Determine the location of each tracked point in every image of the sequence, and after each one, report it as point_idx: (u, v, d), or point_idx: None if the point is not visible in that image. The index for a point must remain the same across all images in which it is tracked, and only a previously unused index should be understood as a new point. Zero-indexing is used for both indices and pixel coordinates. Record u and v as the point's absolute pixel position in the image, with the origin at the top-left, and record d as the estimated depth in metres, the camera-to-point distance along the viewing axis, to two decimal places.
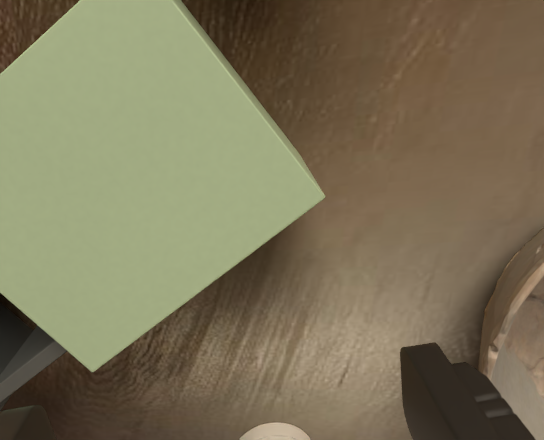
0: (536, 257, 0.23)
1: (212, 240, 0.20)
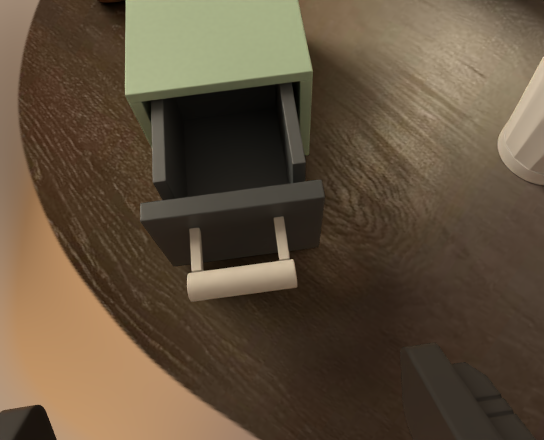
0: None
1: None
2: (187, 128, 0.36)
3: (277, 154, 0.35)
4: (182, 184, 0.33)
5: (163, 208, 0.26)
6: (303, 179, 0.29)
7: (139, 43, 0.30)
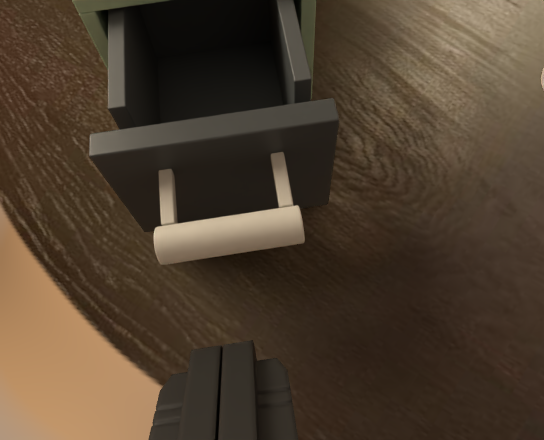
0: None
1: None
2: (162, 67, 0.30)
3: (273, 94, 0.28)
4: None
5: (120, 139, 0.19)
6: None
7: None
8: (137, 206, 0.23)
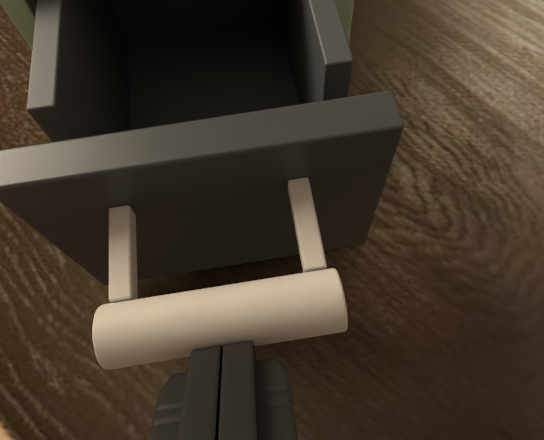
0: None
1: None
2: (134, 54, 0.22)
3: (285, 90, 0.21)
4: None
5: (41, 160, 0.12)
6: None
7: None
8: (86, 255, 0.16)
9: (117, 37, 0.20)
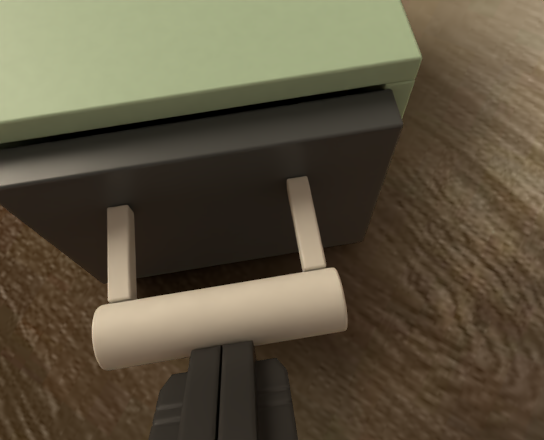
0: None
1: None
2: None
3: None
4: None
5: (38, 160, 0.12)
6: None
7: None
8: (84, 254, 0.16)
9: None
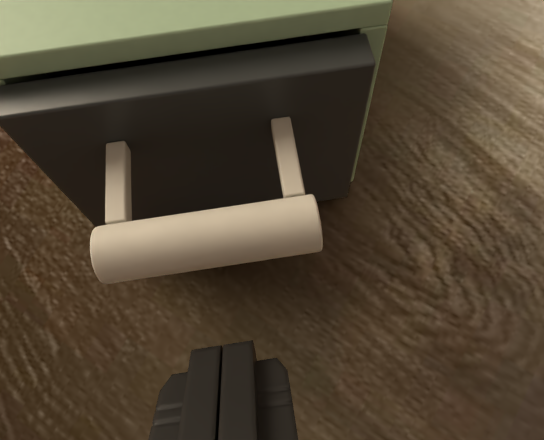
0: None
1: None
2: None
3: None
4: None
5: (43, 93, 0.13)
6: None
7: None
8: (85, 197, 0.17)
9: None
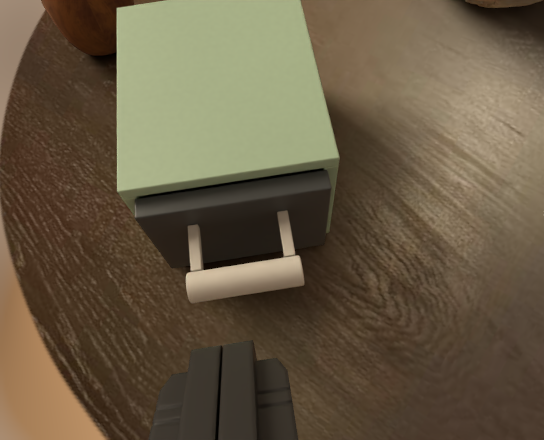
0: None
1: (284, 40, 0.28)
2: None
3: None
4: None
5: (159, 204, 0.24)
6: (307, 171, 0.27)
7: (132, 125, 0.26)
8: (168, 250, 0.28)
9: None
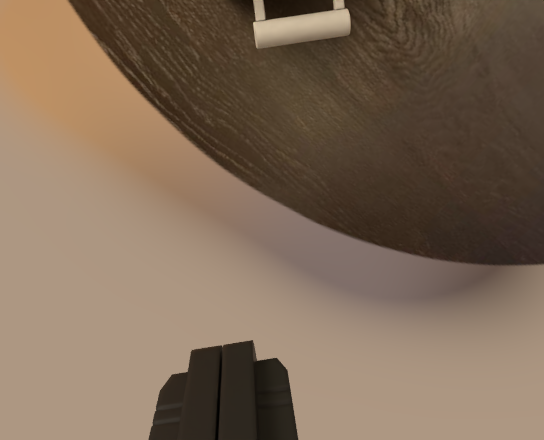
0: None
1: None
2: None
3: None
4: None
5: None
6: None
7: None
8: None
9: None
